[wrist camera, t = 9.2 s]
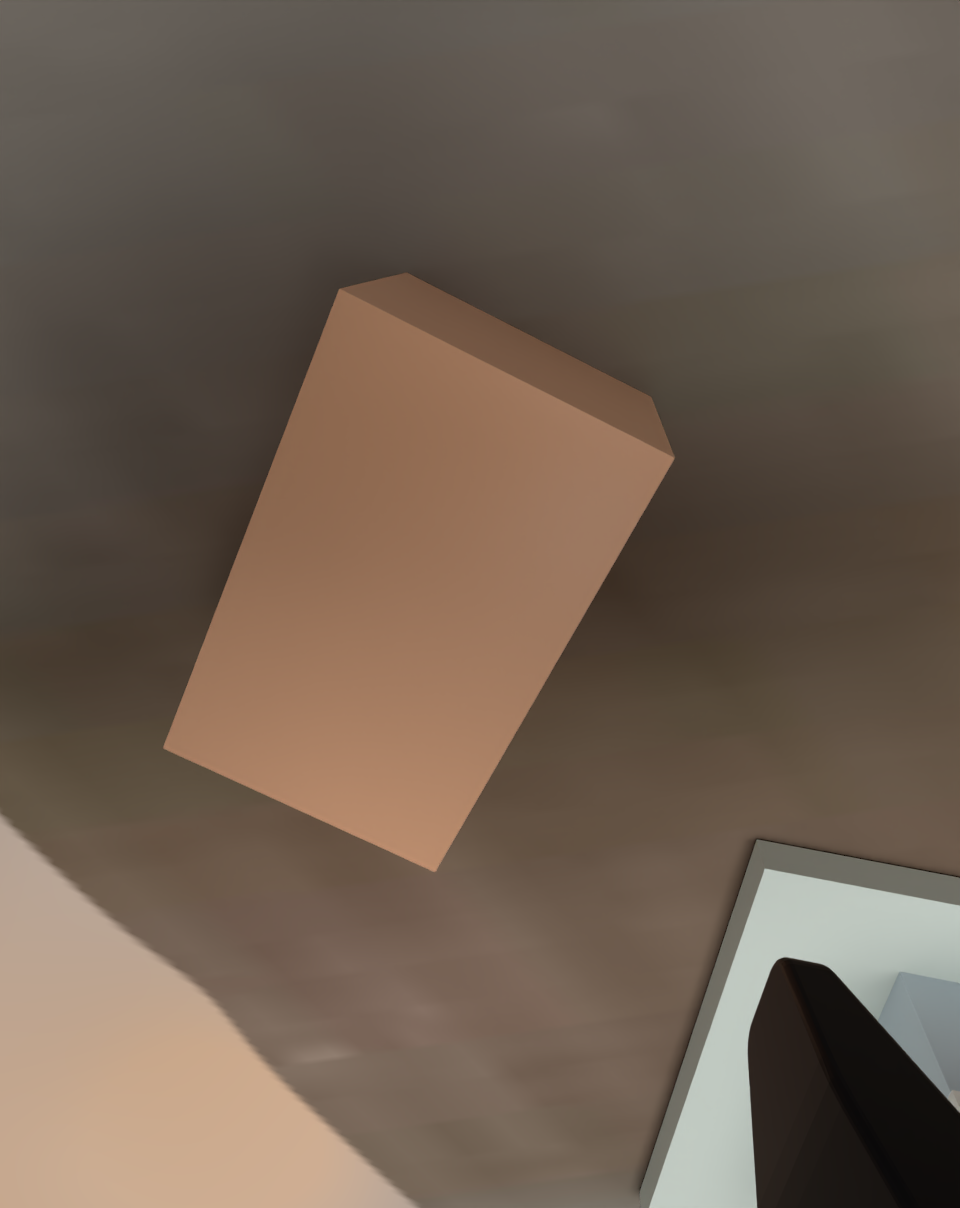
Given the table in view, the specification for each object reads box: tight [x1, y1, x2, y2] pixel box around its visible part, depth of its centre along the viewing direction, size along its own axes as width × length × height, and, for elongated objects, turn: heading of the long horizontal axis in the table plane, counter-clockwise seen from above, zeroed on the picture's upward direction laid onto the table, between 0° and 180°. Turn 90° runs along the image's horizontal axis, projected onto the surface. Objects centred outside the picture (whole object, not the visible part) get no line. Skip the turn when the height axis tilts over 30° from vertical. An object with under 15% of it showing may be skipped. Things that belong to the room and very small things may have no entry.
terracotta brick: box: [163, 272, 675, 872], centre depth 16 cm, size 5×8×5 cm, turn 155°
